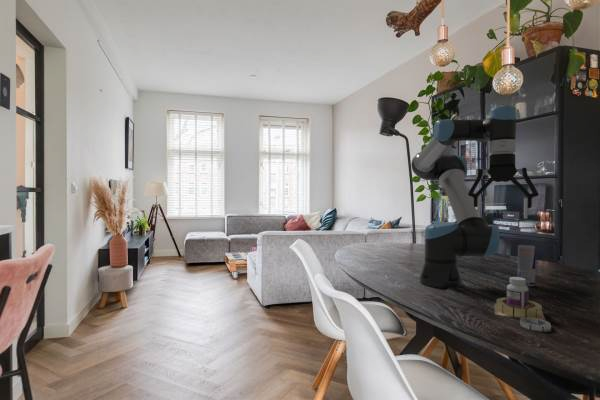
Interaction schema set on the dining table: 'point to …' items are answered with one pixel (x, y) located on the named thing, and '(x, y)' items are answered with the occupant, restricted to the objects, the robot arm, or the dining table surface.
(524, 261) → the beverage can
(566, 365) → the dining table surface
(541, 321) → the grey collar
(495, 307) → the oak plate
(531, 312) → the brass collar
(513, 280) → the pill bottle
